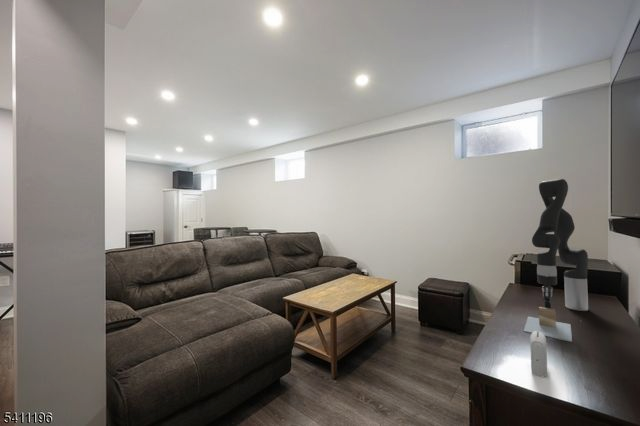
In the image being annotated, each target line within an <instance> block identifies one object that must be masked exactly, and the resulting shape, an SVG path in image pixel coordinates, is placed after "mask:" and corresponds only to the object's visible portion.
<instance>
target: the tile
mask: <svg viewBox="0 0 640 426" xmlns="http://www.w3.org/2000/svg"><path fill="white" fill-rule="evenodd" d="M556 315H557V314H556V309H555V308H551V309H550V308H545V307H542V306H539V307H538V318H539V325H544V326H549V327H554V328H556V322H557V316H556Z"/></svg>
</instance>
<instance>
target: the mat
mask: <svg viewBox="0 0 640 426" xmlns="http://www.w3.org/2000/svg"><path fill="white" fill-rule="evenodd" d="M534 331H537V332H541V333H543V334H544V336H545V338H552V339H556V340H560V341H565V342H566V341H567V342H571V343H573V338H572V326H571V324H570V323H565V322H560V321H559V322H558V321H556V328H554V327H549V326H544V325H539V317H533V316H527V319H526V323H525V325H524V329H523V332H525V333H529V334H532V333H533V332H534Z"/></svg>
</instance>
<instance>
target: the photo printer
mask: <svg viewBox="0 0 640 426" xmlns="http://www.w3.org/2000/svg"><path fill="white" fill-rule="evenodd" d="M529 340H530V341H529V344H530V345H529V346H530V369H531V373H533V375H535V374H536V376H538V377H541V376H544V377H546V376H547V373H548V356H547V355H548V354H547V351H548V350H547V337H546V336H544V334H543V333H541V332H537V331H534V332H533V333H530V336H529Z"/></svg>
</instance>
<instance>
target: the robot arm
mask: <svg viewBox="0 0 640 426" xmlns="http://www.w3.org/2000/svg"><path fill="white" fill-rule="evenodd" d="M538 190H539V194H540V196H541V199H542V201H543V204H544V206H545V209H544V210H543V212H542V213H541V216H540V220H539V224H538V227H537V229H536V230H535V232H534V234H533V235H532V237H531V243H532V245H533V246H534V247H536V248H540V249H543V248H544V249H549V250H548V251H545V252H538V253H537V255H536V257H537V258H536V261H537V266H536V276H537V277H536V279H537V280H536V282H537V283H538V284H539V285H543V286H542V287H541V291H542V297H543V301H544V308H550V309H552V303H551V302H552V298H553V289H554V288H553V287H552V286H557V285H558V270H557V262H556V260H557V259H556V258H557V257H556V256H557V252H558V257H559V260H560V261H561V263H562V264H564V265H569V266H570V265H571V266H576V267H575V268H574V269H569V270H565V271H564V272H563V279H564V280H563V281H564V304H565V305H564V306H565V307H566V308H567V309H569V310H575V311H581V312H587V311H588V310H589V294H588V266H589V265H588V264H589V257H588V256H589V254H588V251H586V250H585V249H582V248H570V247H569V245H568V241H569V239H570V237H571V236H572V235H573V233H574V232H575V228H576V227H575V223H574V220H573V216H572V215H571V214H570V213H569V212H567V210H565V209H564V208H563V206H564V203H565V200H566V197H567V195H568V191H569V185H568V182H567V181H566V179H564V178H555V179H550V180H543V181H540V182H539V184H538Z"/></svg>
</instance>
